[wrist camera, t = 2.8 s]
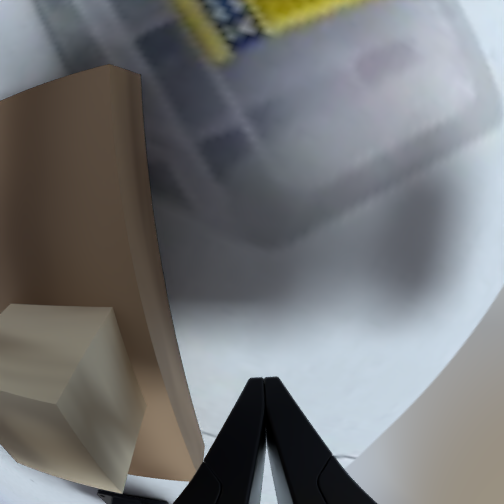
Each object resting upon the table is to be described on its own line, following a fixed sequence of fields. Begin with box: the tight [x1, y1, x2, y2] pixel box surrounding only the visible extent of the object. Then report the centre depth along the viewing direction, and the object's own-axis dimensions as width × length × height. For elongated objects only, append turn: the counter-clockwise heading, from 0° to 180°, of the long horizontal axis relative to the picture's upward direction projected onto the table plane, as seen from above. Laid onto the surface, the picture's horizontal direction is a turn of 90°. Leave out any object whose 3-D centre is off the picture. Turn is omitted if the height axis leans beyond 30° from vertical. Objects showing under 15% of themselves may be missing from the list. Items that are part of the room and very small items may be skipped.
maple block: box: [0, 304, 147, 494], centre depth 8 cm, size 4×4×4 cm
